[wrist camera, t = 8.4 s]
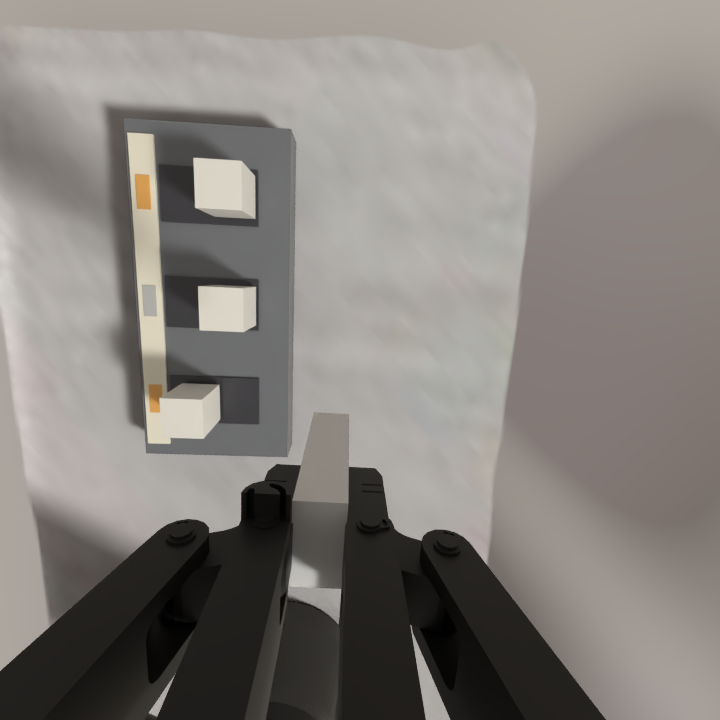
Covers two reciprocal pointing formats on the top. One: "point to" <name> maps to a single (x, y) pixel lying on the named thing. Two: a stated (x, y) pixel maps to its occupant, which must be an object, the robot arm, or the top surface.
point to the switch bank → (213, 282)
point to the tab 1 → (190, 411)
